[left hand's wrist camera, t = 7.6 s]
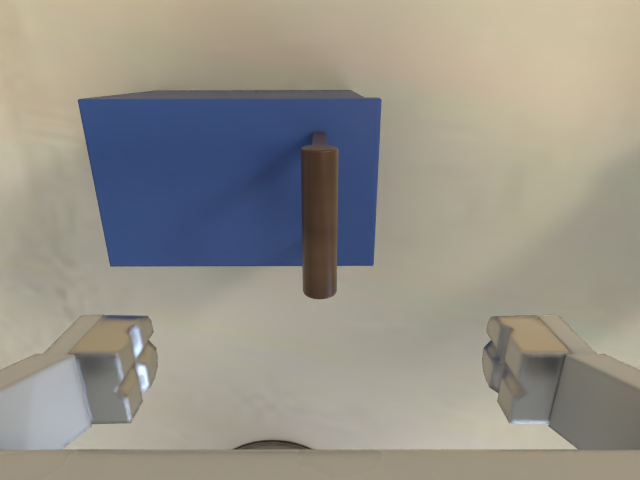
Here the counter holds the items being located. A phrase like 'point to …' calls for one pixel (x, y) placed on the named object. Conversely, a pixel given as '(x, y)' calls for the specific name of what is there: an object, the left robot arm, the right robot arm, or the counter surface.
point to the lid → (237, 182)
